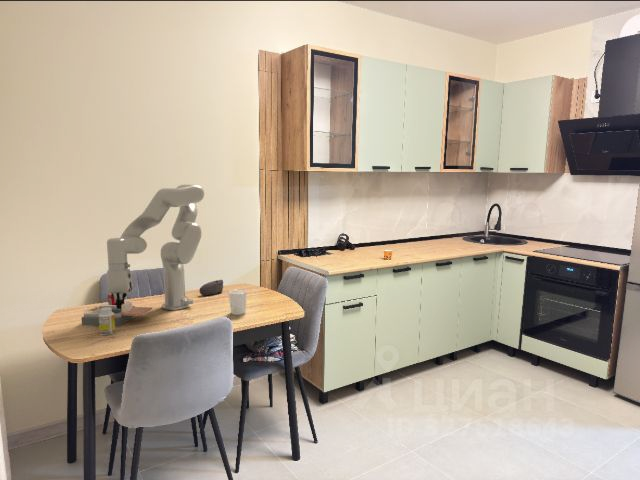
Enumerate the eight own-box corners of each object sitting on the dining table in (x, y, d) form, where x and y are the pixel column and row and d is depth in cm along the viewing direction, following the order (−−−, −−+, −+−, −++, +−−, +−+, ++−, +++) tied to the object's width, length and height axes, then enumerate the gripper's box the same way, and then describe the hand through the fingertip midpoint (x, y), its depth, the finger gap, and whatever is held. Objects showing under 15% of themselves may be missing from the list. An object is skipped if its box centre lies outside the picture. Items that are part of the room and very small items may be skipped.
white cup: (249, 311, 202) (249, 290, 201) (241, 316, 195) (241, 294, 194) (235, 309, 205) (234, 289, 204) (226, 314, 198) (225, 293, 196)
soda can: (127, 303, 215) (125, 280, 213) (119, 307, 208) (117, 283, 206) (113, 303, 216) (112, 279, 214) (105, 307, 209) (103, 282, 207)
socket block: (137, 314, 196) (136, 304, 196) (118, 326, 181) (117, 315, 180) (103, 313, 198) (103, 304, 197) (82, 325, 182) (81, 314, 181)
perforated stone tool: (202, 297, 226) (201, 284, 225) (197, 295, 230) (196, 283, 229) (226, 292, 237) (226, 280, 236) (221, 290, 240) (221, 278, 239)
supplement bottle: (111, 329, 177) (109, 305, 175) (117, 332, 173) (116, 308, 172) (97, 333, 172) (95, 308, 171) (103, 336, 169) (101, 311, 168)
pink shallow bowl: (152, 309, 192) (151, 300, 192) (141, 316, 182) (140, 307, 182) (130, 308, 193) (130, 300, 193) (118, 315, 183) (118, 306, 183)
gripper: (139, 265, 189) (141, 306, 191) (106, 264, 190) (109, 305, 192) (130, 268, 181) (132, 310, 184) (96, 268, 183) (99, 310, 185)
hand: (120, 307), depth 188 cm, fingers closed
